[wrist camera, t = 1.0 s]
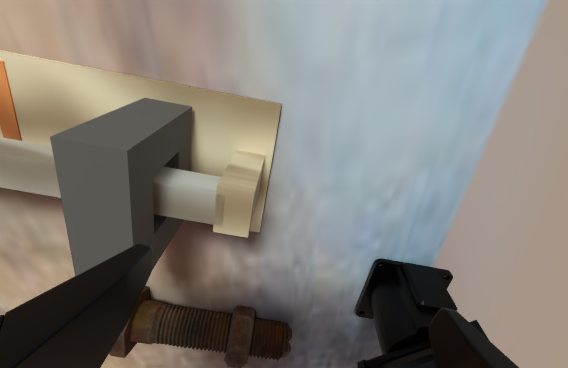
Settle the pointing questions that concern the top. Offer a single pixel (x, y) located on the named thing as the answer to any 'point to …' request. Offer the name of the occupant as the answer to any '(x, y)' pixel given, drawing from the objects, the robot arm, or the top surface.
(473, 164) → the top surface
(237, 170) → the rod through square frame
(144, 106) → the grey square collar
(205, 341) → the bolt
